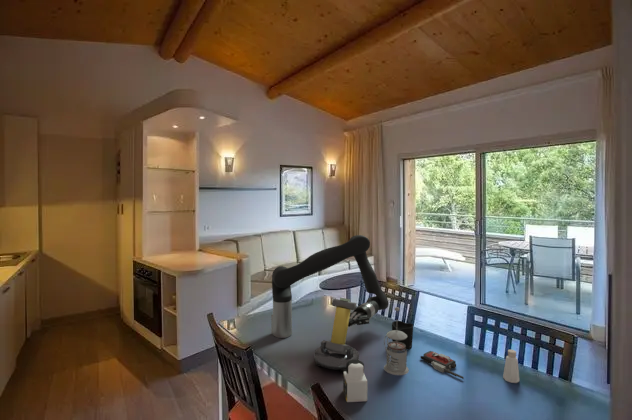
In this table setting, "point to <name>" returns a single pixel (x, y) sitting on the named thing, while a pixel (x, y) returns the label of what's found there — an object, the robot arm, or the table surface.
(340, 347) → the yellow mallet
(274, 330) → the robot arm
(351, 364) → the medicine bottle
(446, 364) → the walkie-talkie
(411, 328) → the pen holder
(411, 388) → the table surface
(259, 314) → the table surface
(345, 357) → the dark grey round stand
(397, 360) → the french press
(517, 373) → the pepper shaker
